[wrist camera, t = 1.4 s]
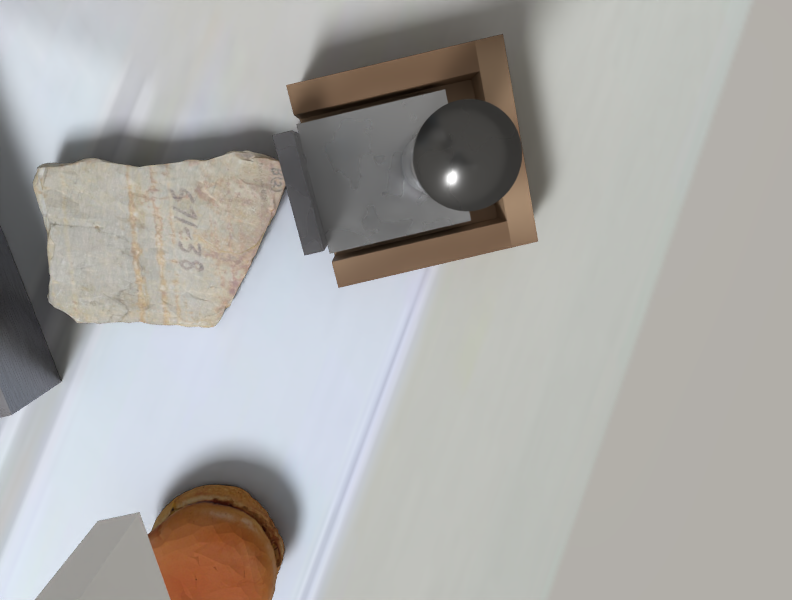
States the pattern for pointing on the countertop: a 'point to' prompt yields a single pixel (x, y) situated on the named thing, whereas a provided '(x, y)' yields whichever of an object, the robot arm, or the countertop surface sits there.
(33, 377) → the grey rectangular bar
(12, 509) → the countertop surface
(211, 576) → the burger
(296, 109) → the frame
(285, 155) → the ram
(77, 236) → the stone
